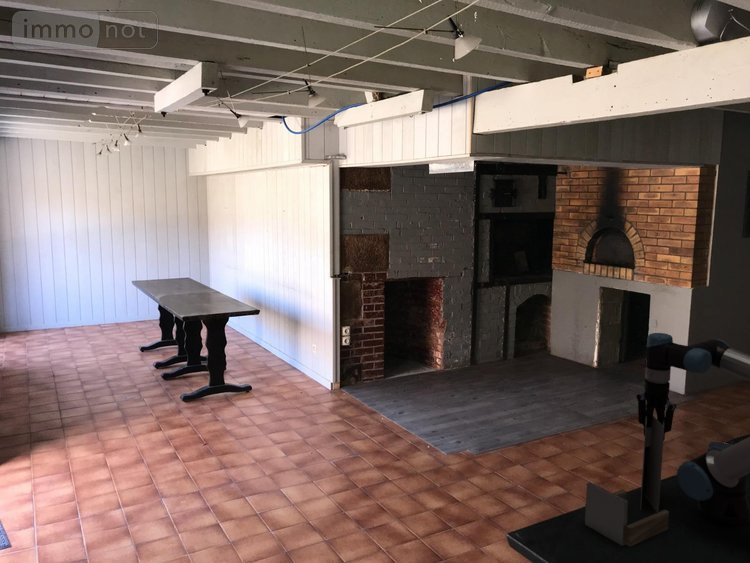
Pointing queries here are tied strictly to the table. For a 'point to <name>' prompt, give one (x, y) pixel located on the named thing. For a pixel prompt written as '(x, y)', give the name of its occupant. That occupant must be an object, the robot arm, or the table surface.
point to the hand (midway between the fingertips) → (653, 447)
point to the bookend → (606, 513)
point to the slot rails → (644, 525)
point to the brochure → (653, 464)
